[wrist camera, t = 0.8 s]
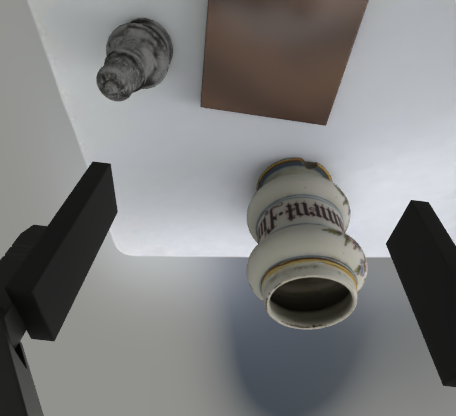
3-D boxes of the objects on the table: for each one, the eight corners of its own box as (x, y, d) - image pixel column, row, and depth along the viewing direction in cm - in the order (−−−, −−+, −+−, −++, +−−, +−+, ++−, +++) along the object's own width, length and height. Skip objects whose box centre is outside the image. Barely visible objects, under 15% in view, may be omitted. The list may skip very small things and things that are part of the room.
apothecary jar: (356, 159, 41) (405, 277, 27) (322, 229, 49) (346, 348, 35) (259, 141, 41) (259, 252, 27) (240, 215, 48) (232, 330, 35)
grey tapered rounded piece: (144, 0, 32) (99, 31, 23) (187, 52, 35) (162, 99, 25) (106, 42, 34) (51, 85, 25) (148, 87, 37) (113, 141, 28)
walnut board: (221, -156, 25) (220, -159, 24) (406, -124, 25) (411, -126, 24) (201, 102, 38) (200, 107, 37) (324, 120, 38) (325, 125, 37)
